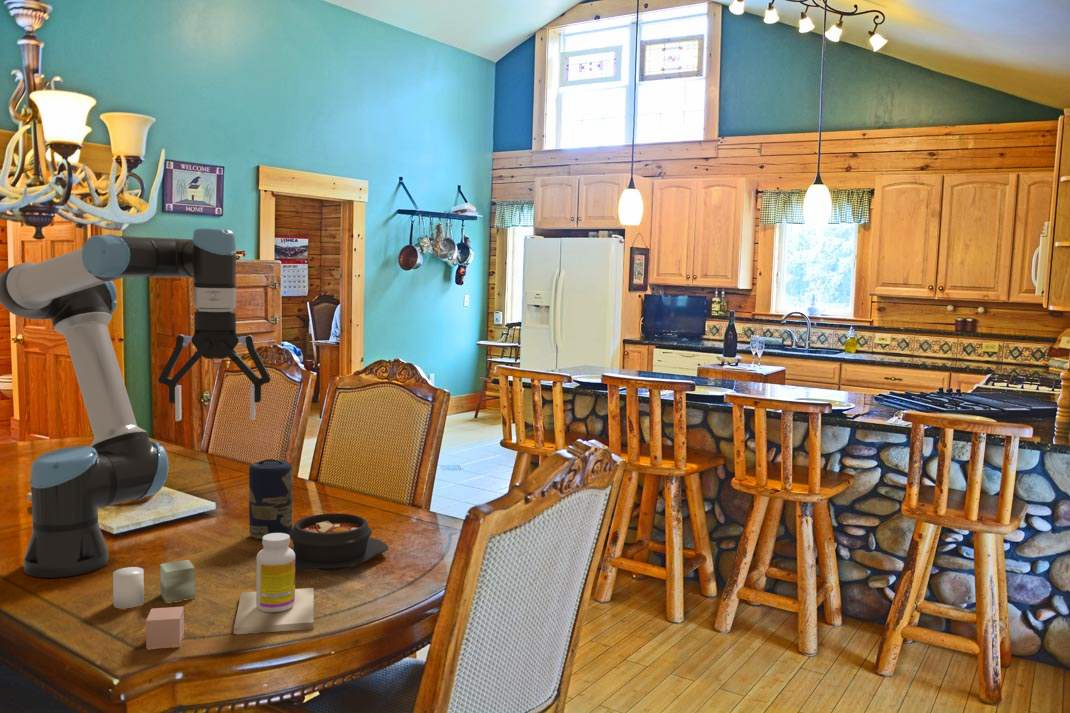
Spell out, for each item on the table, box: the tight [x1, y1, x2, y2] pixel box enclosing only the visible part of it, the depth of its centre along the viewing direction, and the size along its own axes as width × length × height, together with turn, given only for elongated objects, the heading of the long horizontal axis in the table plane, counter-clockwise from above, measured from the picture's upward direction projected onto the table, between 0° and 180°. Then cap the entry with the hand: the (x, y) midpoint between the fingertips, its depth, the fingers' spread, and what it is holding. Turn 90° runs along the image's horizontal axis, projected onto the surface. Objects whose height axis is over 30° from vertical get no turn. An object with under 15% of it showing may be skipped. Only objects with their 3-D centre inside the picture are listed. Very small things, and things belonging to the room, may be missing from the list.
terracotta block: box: [145, 606, 185, 648], centre depth 141 cm, size 5×5×5 cm
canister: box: [248, 458, 294, 540], centre depth 195 cm, size 10×10×18 cm
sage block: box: [159, 559, 196, 604], centre depth 160 cm, size 5×5×6 cm
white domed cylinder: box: [112, 566, 145, 610], centre depth 156 cm, size 5×5×6 cm
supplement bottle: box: [255, 533, 296, 613], centre depth 153 cm, size 7×7×13 cm
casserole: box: [289, 512, 389, 572], centre depth 181 cm, size 25×19×8 cm
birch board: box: [233, 587, 315, 635], centre depth 154 cm, size 13×16×1 cm
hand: (216, 419), depth 167 cm, fingers open, 13 cm apart
